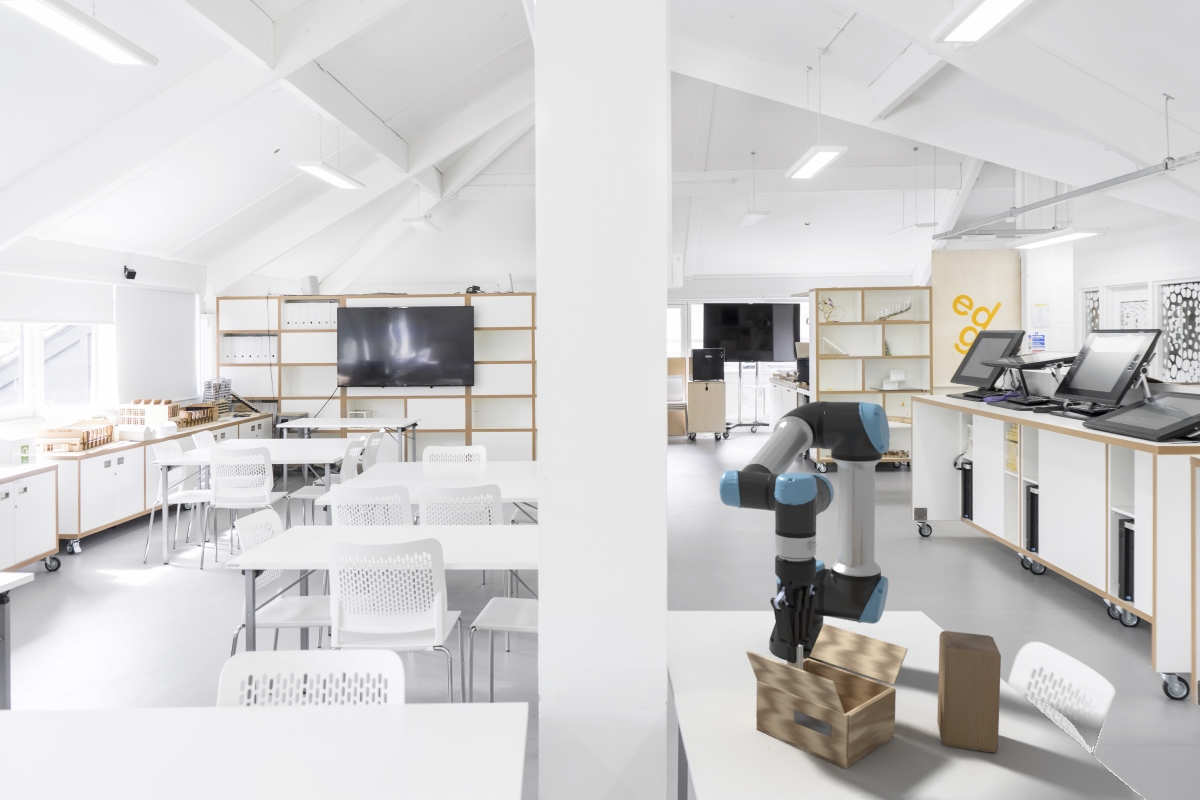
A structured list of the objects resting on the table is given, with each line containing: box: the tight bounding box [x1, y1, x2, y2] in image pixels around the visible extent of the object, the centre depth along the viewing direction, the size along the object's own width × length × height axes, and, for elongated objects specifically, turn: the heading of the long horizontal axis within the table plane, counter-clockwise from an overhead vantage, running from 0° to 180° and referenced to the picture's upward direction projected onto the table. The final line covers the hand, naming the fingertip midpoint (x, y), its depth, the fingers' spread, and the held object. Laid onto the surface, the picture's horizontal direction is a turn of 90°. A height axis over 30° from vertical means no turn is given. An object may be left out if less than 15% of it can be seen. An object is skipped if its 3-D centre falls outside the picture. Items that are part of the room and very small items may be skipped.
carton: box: [755, 658, 897, 770], centre depth 154 cm, size 21×18×10 cm
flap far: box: [810, 623, 908, 686], centre depth 162 cm, size 19×1×8 cm
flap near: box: [745, 650, 844, 714], centre depth 146 cm, size 19×1×8 cm
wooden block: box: [936, 630, 1002, 754], centre depth 152 cm, size 10×10×20 cm
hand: (795, 677), depth 147 cm, fingers closed
